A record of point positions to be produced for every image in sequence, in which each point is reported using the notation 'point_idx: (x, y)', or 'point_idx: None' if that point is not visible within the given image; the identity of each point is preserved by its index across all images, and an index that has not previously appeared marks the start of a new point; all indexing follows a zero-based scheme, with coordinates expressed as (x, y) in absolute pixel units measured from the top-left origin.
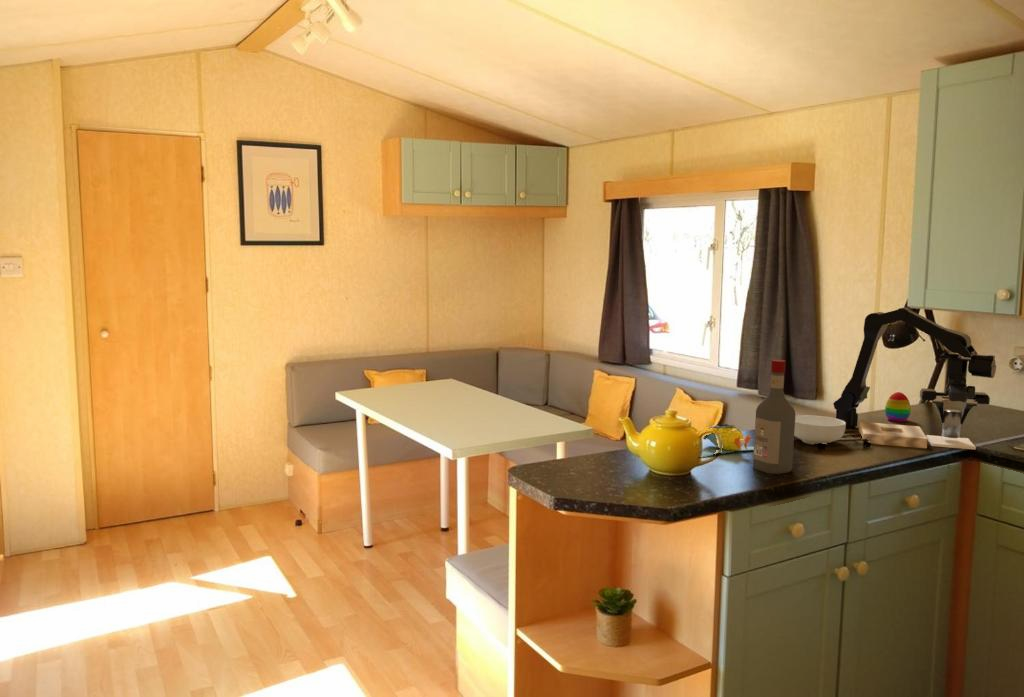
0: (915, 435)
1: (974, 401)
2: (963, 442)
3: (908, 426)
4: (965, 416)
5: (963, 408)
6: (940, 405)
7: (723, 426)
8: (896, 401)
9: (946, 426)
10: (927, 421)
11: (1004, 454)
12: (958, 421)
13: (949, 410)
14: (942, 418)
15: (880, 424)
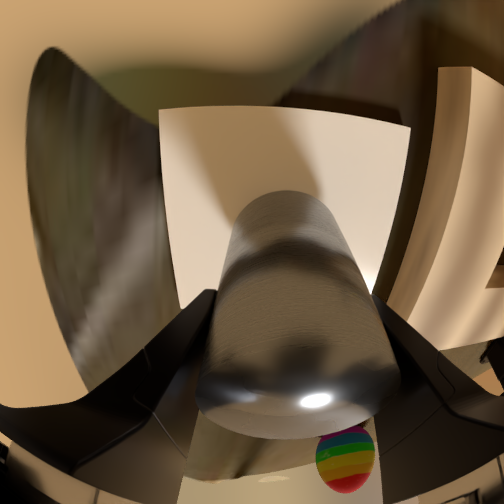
0: (502, 148)
1: (26, 477)
2: (212, 210)
3: (433, 339)
4: (162, 336)
5: (173, 438)
6: (495, 407)
7: None
8: (362, 469)
9: (347, 246)
10: (271, 439)
11: (57, 80)
12: (247, 271)
13: (328, 415)
14: (388, 317)
15: (500, 325)
